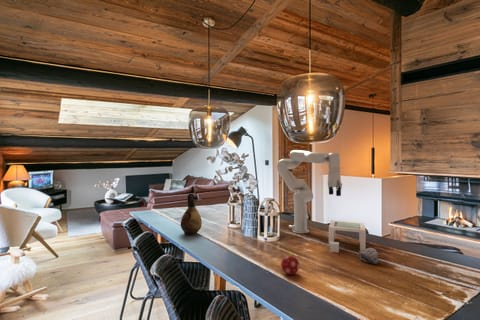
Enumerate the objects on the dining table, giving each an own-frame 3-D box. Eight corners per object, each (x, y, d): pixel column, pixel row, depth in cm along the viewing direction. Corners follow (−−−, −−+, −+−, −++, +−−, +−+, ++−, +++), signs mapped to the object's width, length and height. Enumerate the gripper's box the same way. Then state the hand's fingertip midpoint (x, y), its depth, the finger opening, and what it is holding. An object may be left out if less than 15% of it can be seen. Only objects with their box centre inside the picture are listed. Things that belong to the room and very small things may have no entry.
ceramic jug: (205, 234, 203) (205, 193, 203) (185, 238, 194) (185, 195, 194) (195, 229, 217) (195, 191, 217) (176, 232, 208) (176, 192, 208)
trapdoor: (334, 228, 179) (334, 226, 179) (335, 223, 192) (335, 221, 192) (359, 230, 173) (359, 228, 173) (358, 225, 186) (358, 223, 186)
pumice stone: (361, 268, 148) (381, 265, 145) (357, 253, 149) (377, 250, 145) (360, 260, 158) (379, 258, 154) (356, 247, 158) (374, 244, 155)
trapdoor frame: (328, 246, 177) (328, 227, 177) (330, 237, 196) (331, 220, 196) (365, 250, 169) (365, 230, 169) (364, 241, 188) (364, 223, 188)
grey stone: (329, 251, 167) (329, 243, 167) (330, 249, 172) (330, 241, 172) (338, 253, 165) (338, 244, 165) (339, 250, 170) (339, 242, 170)
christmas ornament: (286, 268, 141) (286, 249, 141) (302, 273, 135) (302, 252, 135) (277, 274, 134) (278, 253, 134) (293, 279, 128) (293, 257, 128)
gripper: (323, 170, 200) (323, 194, 200) (335, 170, 183) (336, 196, 183) (332, 170, 202) (333, 193, 202) (346, 170, 185) (346, 196, 185)
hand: (334, 195), depth 192 cm, fingers open, 9 cm apart
